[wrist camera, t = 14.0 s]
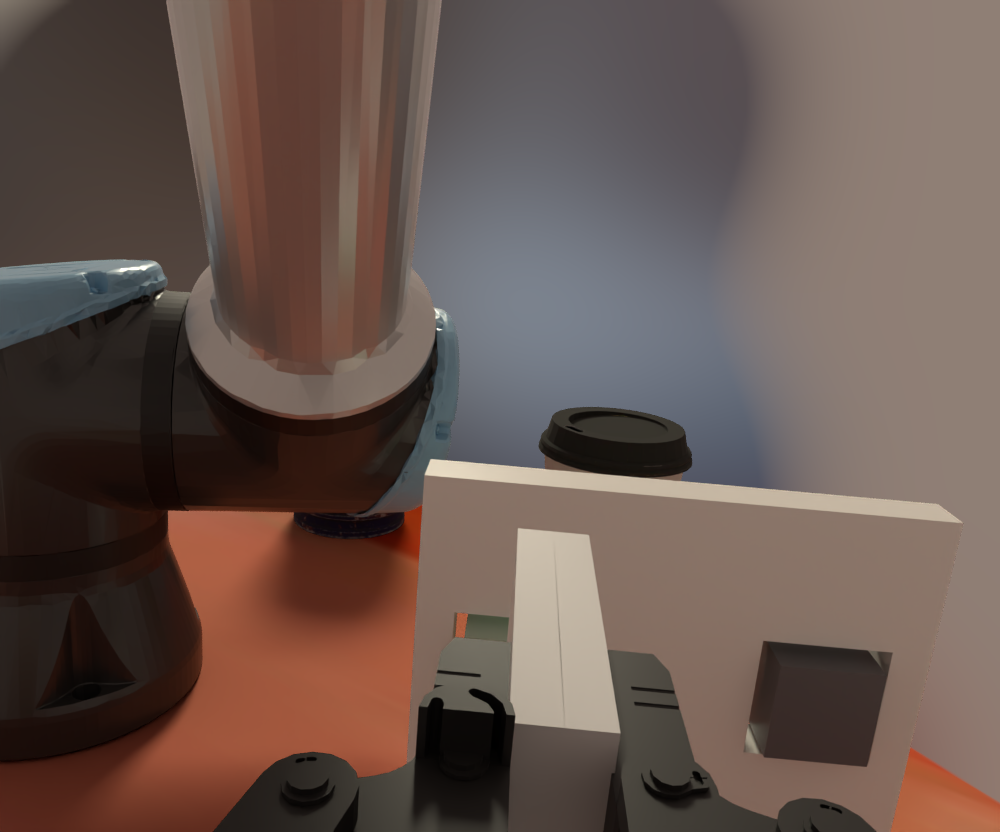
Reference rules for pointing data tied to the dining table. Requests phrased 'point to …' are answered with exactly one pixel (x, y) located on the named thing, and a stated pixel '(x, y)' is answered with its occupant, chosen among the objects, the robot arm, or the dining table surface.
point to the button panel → (709, 600)
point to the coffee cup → (615, 444)
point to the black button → (816, 703)
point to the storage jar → (349, 524)
